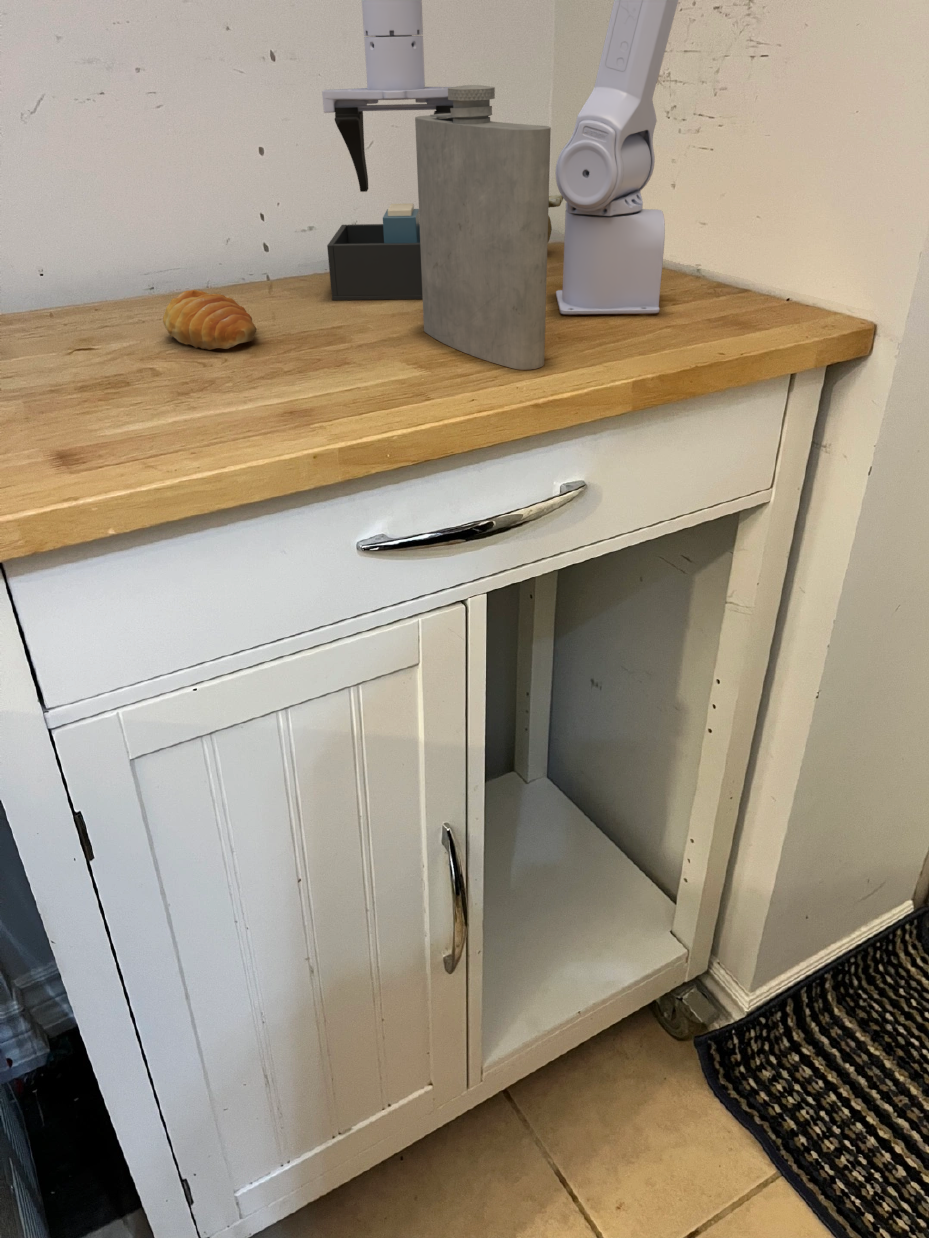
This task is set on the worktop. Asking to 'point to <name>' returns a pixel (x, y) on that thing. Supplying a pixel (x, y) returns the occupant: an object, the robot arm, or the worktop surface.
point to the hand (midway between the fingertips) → (401, 189)
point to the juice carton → (401, 224)
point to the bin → (373, 265)
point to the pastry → (208, 320)
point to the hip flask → (484, 230)
